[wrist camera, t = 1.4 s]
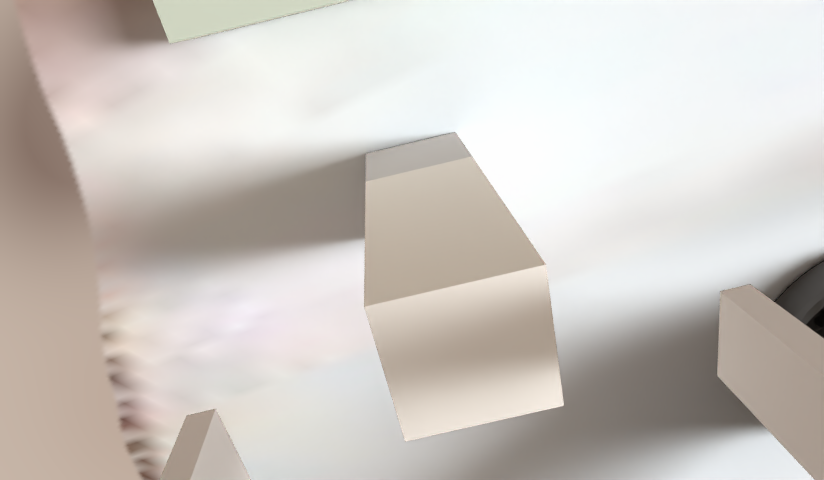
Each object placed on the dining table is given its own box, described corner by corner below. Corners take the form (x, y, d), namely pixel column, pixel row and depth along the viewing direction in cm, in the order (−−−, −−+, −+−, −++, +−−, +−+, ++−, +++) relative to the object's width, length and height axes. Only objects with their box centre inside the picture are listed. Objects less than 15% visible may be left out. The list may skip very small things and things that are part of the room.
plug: (471, 215, 31) (564, 405, 16) (387, 235, 31) (405, 441, 16) (455, 132, 29) (545, 264, 14) (365, 153, 29) (364, 306, 14)
